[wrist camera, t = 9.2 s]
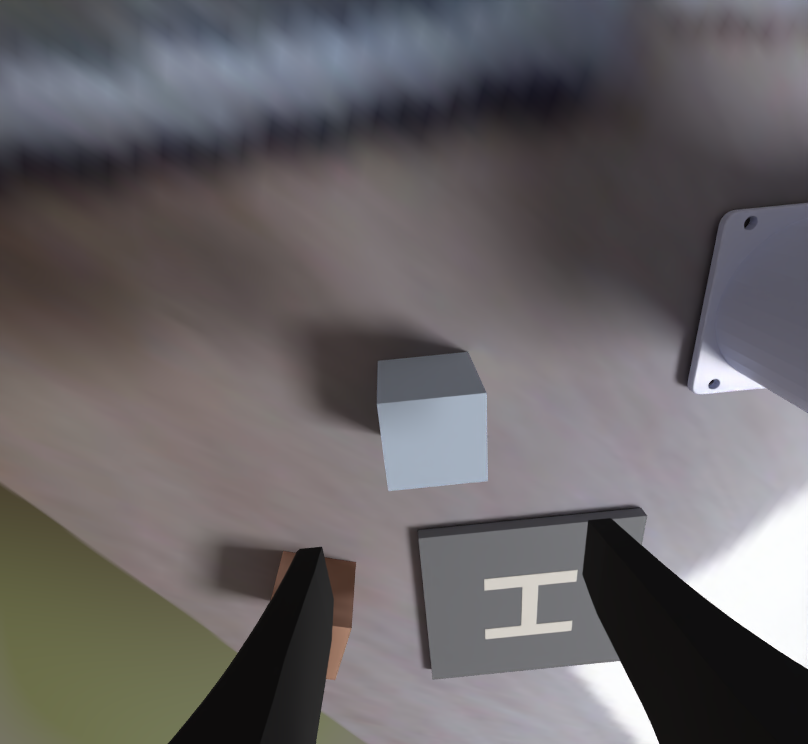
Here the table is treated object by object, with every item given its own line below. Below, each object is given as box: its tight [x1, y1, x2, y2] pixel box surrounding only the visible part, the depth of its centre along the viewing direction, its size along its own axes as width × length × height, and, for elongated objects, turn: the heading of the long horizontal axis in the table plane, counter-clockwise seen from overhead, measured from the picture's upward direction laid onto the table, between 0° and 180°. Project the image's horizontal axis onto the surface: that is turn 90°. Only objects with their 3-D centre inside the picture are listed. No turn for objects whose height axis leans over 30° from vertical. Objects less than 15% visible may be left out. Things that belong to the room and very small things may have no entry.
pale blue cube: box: [377, 352, 488, 491], centre depth 19 cm, size 4×4×4 cm
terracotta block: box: [271, 551, 356, 680], centre depth 24 cm, size 4×4×4 cm
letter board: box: [418, 508, 647, 680], centre depth 26 cm, size 12×12×1 cm
